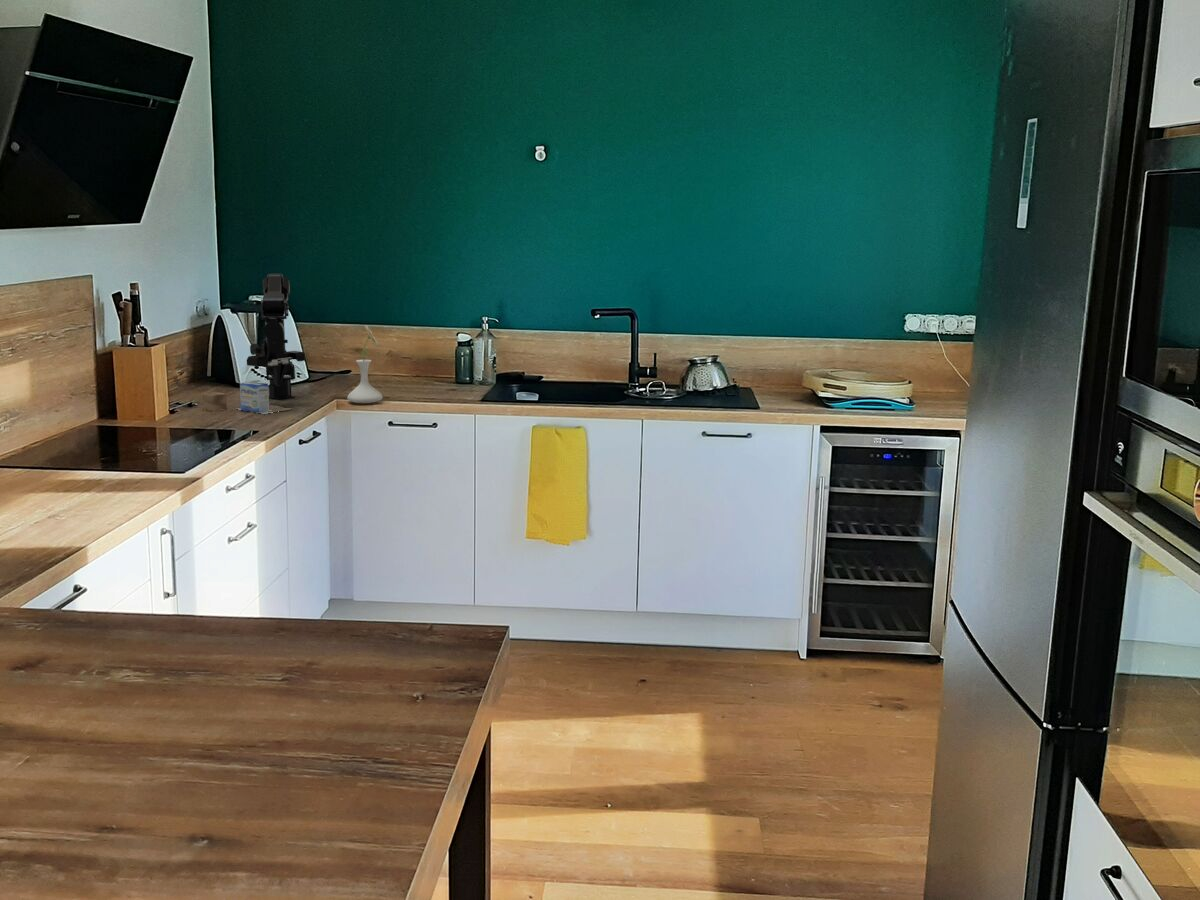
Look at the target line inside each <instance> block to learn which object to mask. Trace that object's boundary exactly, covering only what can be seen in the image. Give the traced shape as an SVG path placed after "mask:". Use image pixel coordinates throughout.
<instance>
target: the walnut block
mask: <svg viewBox="0 0 1200 900" xmlns="http://www.w3.org/2000/svg"><path fill="white" fill-rule="evenodd" d="M227 403H228V402H227V393H222V392H219V391H218V392H216V391H215V392H209V393H202V406H203V408H202V409H207V410H212V411H211V412H213V411H214V410H220V409H226V410H228V407H227V406H228V404H227ZM207 410H206V411H207ZM220 411H221V410H220ZM214 412H215V411H214Z"/></svg>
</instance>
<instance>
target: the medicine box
mask: <svg viewBox="0 0 1200 900" xmlns="http://www.w3.org/2000/svg"><path fill="white" fill-rule="evenodd" d="M239 392H240V393H239V394H240V395H239V396H240V398H239V399H240V408H241V410H243V412H247V411H252V412H251V413H253V412H265V411H269V404H270V398H269V383H263V382H257V381H256V382H253V381H244V382H240V383H239ZM241 410H240V411H241Z"/></svg>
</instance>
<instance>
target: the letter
mask: <svg viewBox="0 0 1200 900" xmlns="http://www.w3.org/2000/svg"><path fill="white" fill-rule="evenodd" d="M237 409H238V410H237V411H241V407H240V408H239V407H238V408H237ZM269 411H272V410H269ZM249 413H253V412H252V411H250V412H249ZM258 413H261V414H260V415H264V414H265V415H269V414H268V413H271V414H274V413H273V412H268V411H265V412H256V413H255V414H258ZM277 413H280V412H279V411H278V412H277Z"/></svg>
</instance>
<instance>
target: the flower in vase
mask: <svg viewBox="0 0 1200 900" xmlns="http://www.w3.org/2000/svg"><path fill="white" fill-rule="evenodd" d="M364 327H365V331H366V332H367V334H368V337H367V339H366V341H365V344H364V346H363V350H362V352H361V353H360V354H359V356H360V357H362V359H357V360H355V362H356V364H357V365H358V367H359V372H360V382H359V384H358V385H356V387H355V388H353V390H352V391H350V392H349V394H348V395H347V397H346V399H347V401H348V402H349V401H350V402H351V403H354V404H373V403H377V402H380V401H382V399H383V394H382V393H381V392H380V391H379V390H377V389H376V388H374V387H373V386H372V385H371V384H370V382H369V375H368V374H369V367H370V365H371V362H372V360H371V359H365V356H369V352H368V350H367V348H366V346H367V343H368V341H369V340H371V341H372V342H373V344H374V345H375V346H376V347H379V342H378V341H377V340H376V337H375V336H374V334H373V331H372V330H371V329H370V328H369V326H368V324H366V325H364Z"/></svg>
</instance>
